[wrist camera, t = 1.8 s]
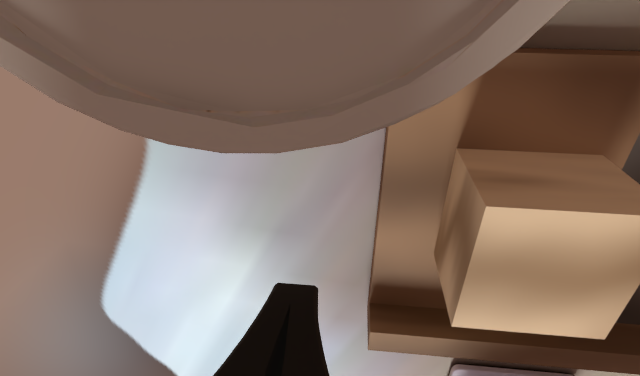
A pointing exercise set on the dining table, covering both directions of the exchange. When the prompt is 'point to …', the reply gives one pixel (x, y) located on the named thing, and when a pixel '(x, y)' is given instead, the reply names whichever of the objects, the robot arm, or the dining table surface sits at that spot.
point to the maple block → (538, 242)
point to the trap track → (507, 135)
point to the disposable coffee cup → (259, 63)
